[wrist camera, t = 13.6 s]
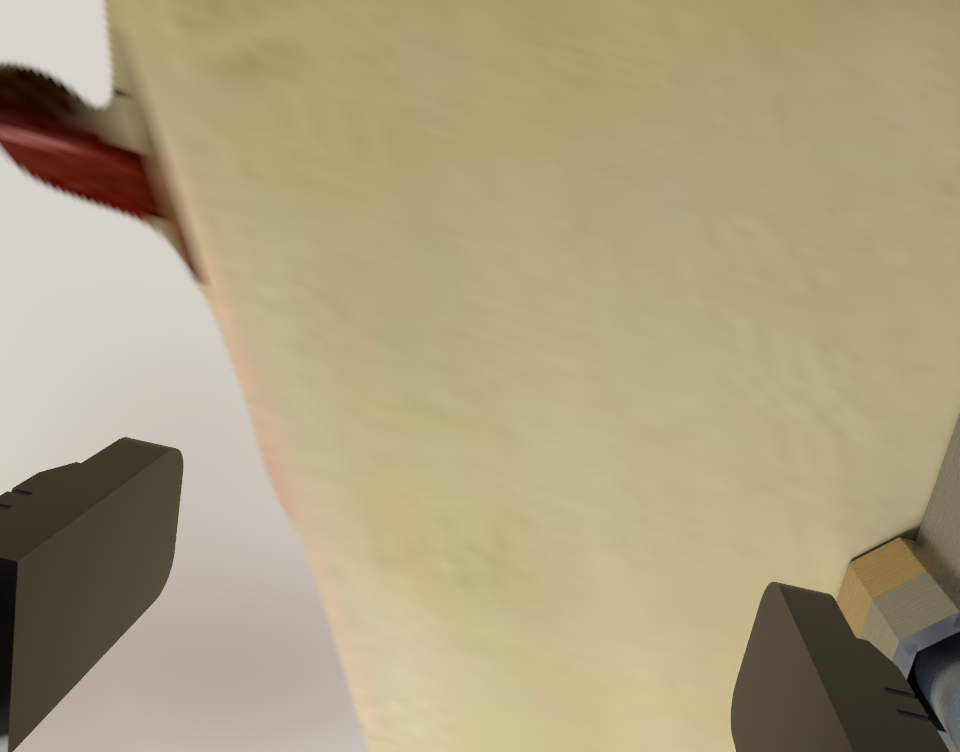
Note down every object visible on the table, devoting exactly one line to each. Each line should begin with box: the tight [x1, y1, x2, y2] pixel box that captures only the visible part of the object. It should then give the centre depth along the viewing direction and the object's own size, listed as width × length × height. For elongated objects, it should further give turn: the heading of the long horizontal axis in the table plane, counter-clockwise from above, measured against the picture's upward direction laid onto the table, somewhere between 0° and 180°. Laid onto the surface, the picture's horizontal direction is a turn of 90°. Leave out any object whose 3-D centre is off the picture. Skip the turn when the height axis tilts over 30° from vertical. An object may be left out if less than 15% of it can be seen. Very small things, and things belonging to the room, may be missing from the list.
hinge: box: [836, 415, 960, 752], centre depth 40 cm, size 20×6×7 cm, turn 169°
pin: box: [910, 631, 960, 752], centre depth 37 cm, size 3×3×12 cm
